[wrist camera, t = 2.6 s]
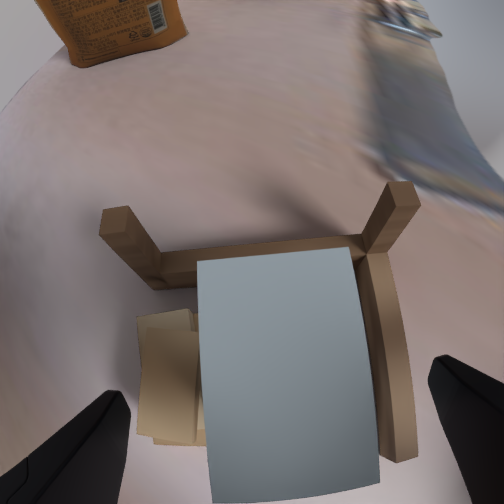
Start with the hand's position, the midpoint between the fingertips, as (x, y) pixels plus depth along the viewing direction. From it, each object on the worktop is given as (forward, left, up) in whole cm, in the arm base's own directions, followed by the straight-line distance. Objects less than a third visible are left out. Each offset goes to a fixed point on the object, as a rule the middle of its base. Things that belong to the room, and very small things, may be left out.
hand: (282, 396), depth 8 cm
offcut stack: (-1, +5, -8) cm, 10 cm away
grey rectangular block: (0, 0, -8) cm, 8 cm away
